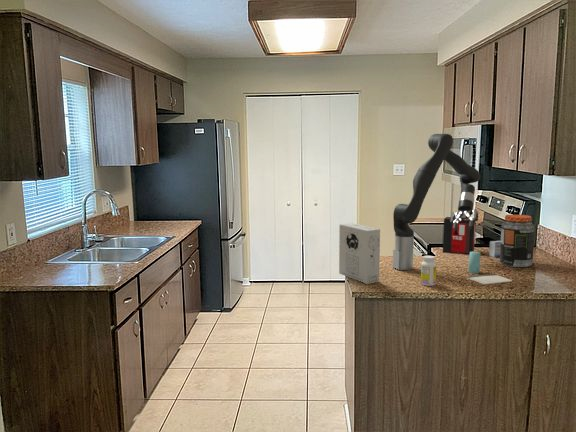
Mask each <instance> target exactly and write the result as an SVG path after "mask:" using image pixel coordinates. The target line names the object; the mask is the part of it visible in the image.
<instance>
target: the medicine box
mask: <svg viewBox="0 0 576 432" xmlns="http://www.w3.org/2000/svg"><path fill="white" fill-rule="evenodd" d="M500 246H501V240H490V241H489V248H488V249H489V253H488V255H489V257H492V258H500Z"/></svg>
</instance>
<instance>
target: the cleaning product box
mask: <svg viewBox="0 0 576 432" xmlns="http://www.w3.org/2000/svg"><path fill="white" fill-rule="evenodd" d="M455 219H456V218H455ZM458 219H460V218H458ZM450 220H451V216H446V217H444V219H443V235H442V236H443V238H442V239H443V240H442V253H447V254H456V255H468V256H469V255H470V252H475V243H476V242H475V240H476V222H477V221H475V222H474V225H473V227H472V229H470V228H469V223H470V219H469V218H468V219H464V220H461V221H460V222H459V223H458V224H457V230H454V229H453V224H452V223H451V222H450Z"/></svg>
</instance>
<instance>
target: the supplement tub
mask: <svg viewBox="0 0 576 432" xmlns="http://www.w3.org/2000/svg"><path fill="white" fill-rule="evenodd" d="M500 241H501V246H500V257H499V261H500V263H501V264H502V265H505V266H507V267H512V268H527V267H530V266H532V265H533V264H534V263H533V262H534V261H533V260H534V248H535V247H534V245H535V244H534V243H535V225H534V224H533V222H532V216H531V215H527V214H506V215H504V222H503V223H502V224H501V227H500Z"/></svg>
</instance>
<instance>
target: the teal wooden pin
mask: <svg viewBox="0 0 576 432" xmlns="http://www.w3.org/2000/svg"><path fill="white" fill-rule="evenodd" d="M468 257H469V259H468V260H469V261H468V274H469V273H470V274H480V269H481V252H479V251H474V252H470V255H468Z"/></svg>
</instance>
